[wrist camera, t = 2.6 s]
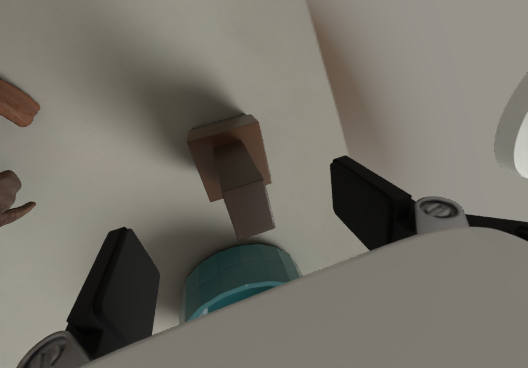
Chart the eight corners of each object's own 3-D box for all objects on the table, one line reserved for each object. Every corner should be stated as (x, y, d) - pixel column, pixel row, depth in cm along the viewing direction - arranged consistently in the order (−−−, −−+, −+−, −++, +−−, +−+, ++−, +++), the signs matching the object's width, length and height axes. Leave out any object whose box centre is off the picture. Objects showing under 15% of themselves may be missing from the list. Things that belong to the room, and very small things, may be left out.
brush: (247, 110, 19) (289, 151, 10) (260, 163, 21) (303, 232, 13) (188, 126, 18) (182, 184, 10) (207, 179, 21) (216, 262, 12)
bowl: (287, 224, 25) (308, 261, 21) (303, 300, 32) (321, 341, 28) (161, 267, 24) (152, 318, 19) (205, 337, 31) (207, 388, 26)
